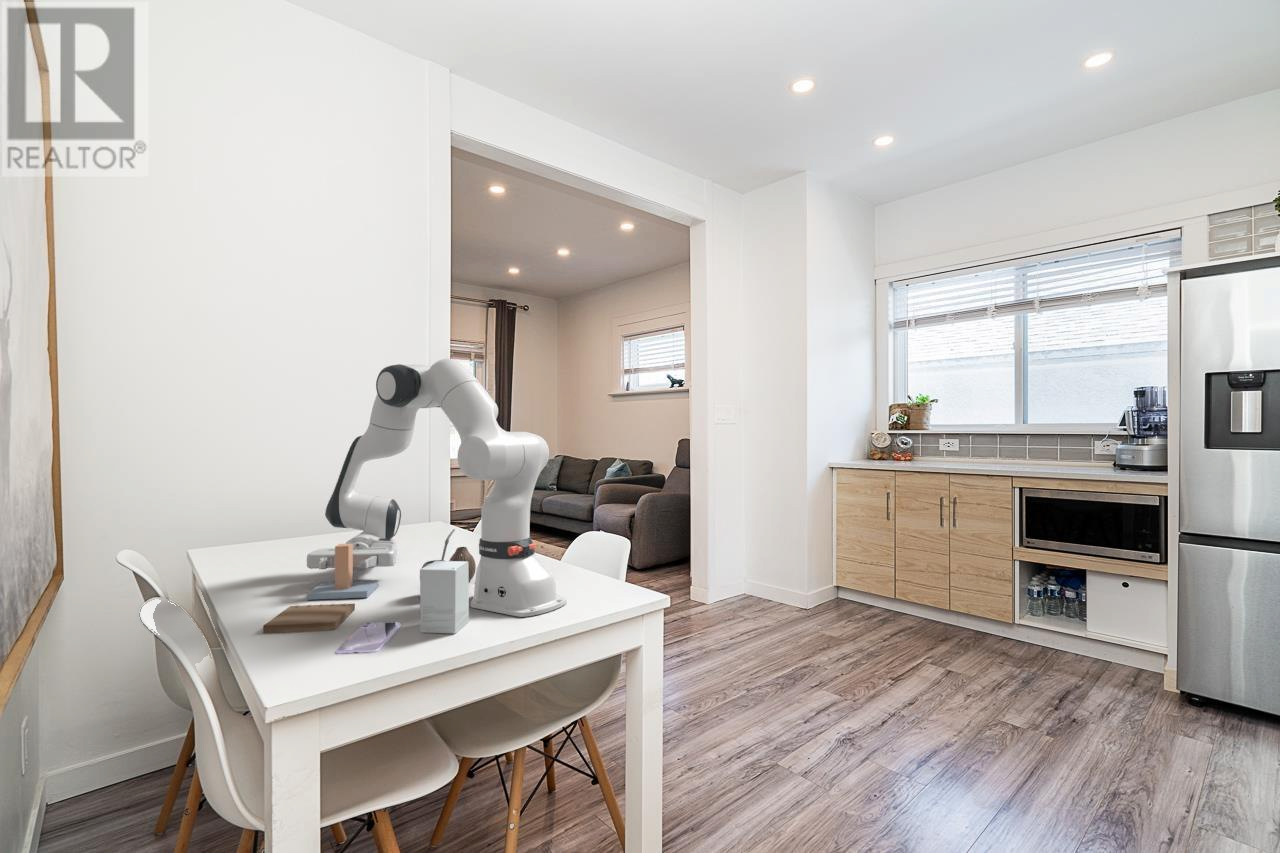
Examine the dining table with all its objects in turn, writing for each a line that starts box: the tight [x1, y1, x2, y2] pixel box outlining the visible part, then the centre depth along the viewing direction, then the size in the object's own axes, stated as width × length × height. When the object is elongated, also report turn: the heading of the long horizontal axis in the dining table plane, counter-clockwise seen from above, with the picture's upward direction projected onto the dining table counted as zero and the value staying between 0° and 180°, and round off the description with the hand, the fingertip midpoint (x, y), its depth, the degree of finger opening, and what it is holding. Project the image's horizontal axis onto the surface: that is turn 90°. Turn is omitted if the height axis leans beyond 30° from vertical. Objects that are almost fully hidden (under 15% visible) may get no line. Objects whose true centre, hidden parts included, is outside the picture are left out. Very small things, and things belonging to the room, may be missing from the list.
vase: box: [448, 546, 477, 582], centre depth 151 cm, size 7×7×9 cm
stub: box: [306, 543, 379, 601], centre depth 139 cm, size 9×13×12 cm
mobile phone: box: [335, 621, 402, 655], centre depth 111 cm, size 8×1×15 cm
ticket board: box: [262, 603, 356, 634], centre depth 120 cm, size 12×13×2 cm
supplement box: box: [419, 560, 470, 634], centre depth 117 cm, size 7×7×13 cm
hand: (342, 565), depth 138 cm, fingers open, 8 cm apart
